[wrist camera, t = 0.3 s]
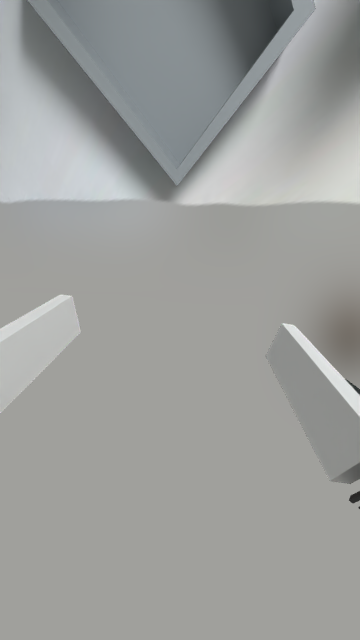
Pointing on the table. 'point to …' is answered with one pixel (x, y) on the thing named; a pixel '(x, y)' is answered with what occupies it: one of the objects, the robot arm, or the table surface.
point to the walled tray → (175, 62)
